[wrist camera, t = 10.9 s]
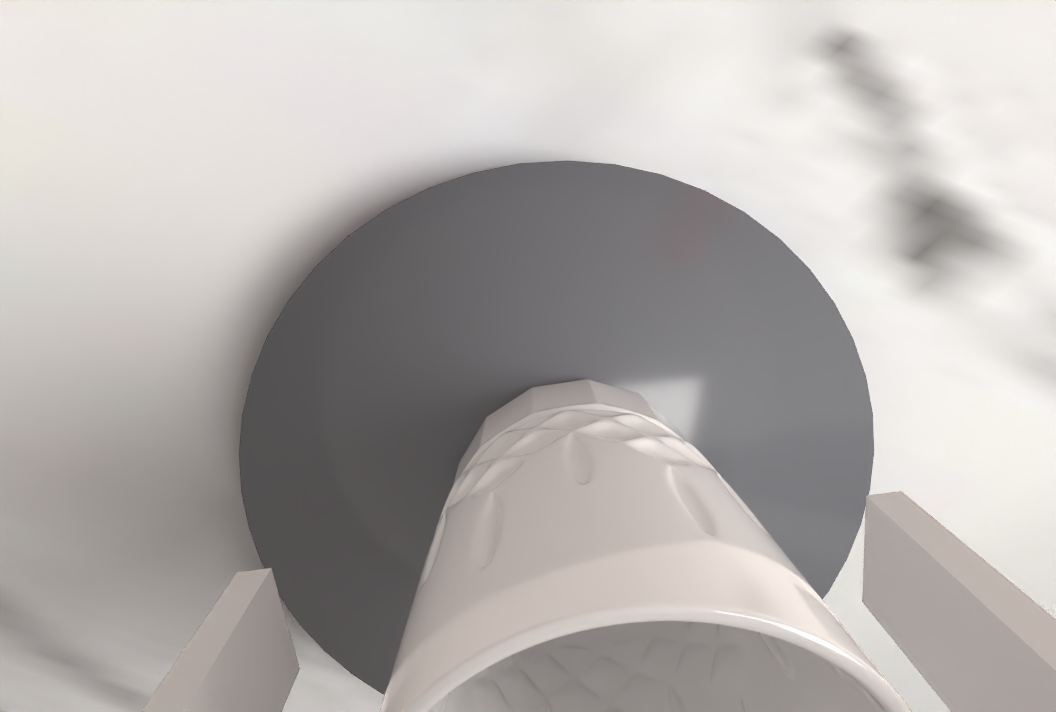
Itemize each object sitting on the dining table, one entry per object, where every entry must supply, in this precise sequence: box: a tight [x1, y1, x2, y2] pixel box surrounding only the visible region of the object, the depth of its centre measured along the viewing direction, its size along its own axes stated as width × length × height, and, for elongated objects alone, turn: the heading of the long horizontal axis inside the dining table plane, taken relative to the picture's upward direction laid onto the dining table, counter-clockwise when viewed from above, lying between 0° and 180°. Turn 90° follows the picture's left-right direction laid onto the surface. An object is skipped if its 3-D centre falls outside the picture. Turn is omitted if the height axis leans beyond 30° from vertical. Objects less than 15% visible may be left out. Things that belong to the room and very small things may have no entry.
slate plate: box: [239, 161, 874, 695], centre depth 19 cm, size 18×18×2 cm
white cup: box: [380, 379, 912, 712], centre depth 13 cm, size 8×8×10 cm
